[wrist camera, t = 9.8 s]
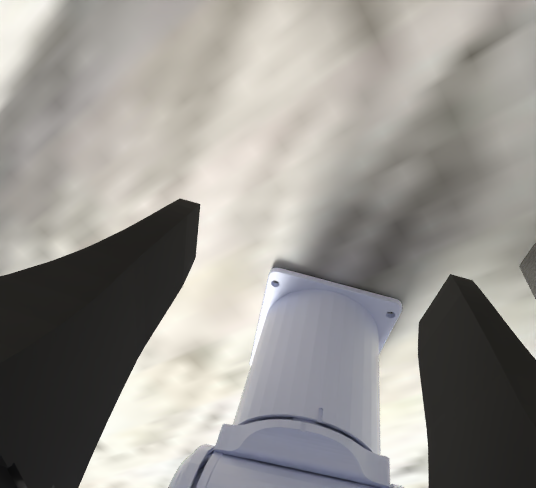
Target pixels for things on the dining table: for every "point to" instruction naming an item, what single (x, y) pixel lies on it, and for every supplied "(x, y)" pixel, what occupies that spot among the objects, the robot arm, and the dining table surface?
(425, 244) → the dining table surface
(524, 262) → the rail
